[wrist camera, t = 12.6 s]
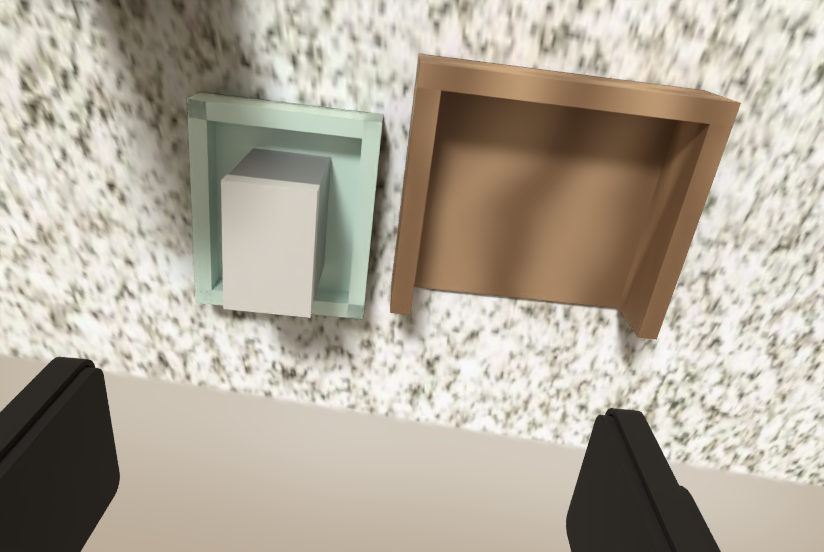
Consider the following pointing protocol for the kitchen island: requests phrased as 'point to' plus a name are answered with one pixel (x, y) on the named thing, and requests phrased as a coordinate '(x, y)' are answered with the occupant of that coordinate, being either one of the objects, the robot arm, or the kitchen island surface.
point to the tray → (298, 133)
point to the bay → (554, 186)
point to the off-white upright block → (274, 231)
